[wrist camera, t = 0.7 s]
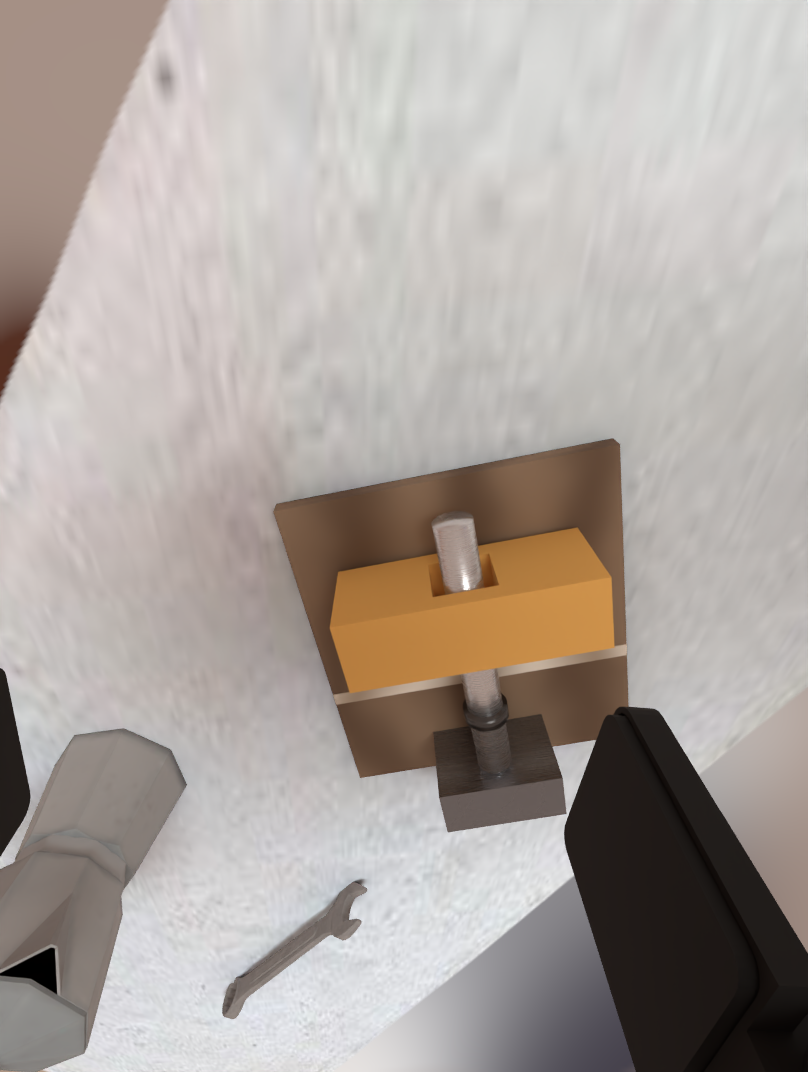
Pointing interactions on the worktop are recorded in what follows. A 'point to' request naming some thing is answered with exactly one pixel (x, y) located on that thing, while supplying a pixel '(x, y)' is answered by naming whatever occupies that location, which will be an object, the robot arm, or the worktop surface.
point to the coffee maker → (75, 890)
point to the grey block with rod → (488, 723)
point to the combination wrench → (295, 950)
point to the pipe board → (406, 532)
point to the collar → (472, 612)
